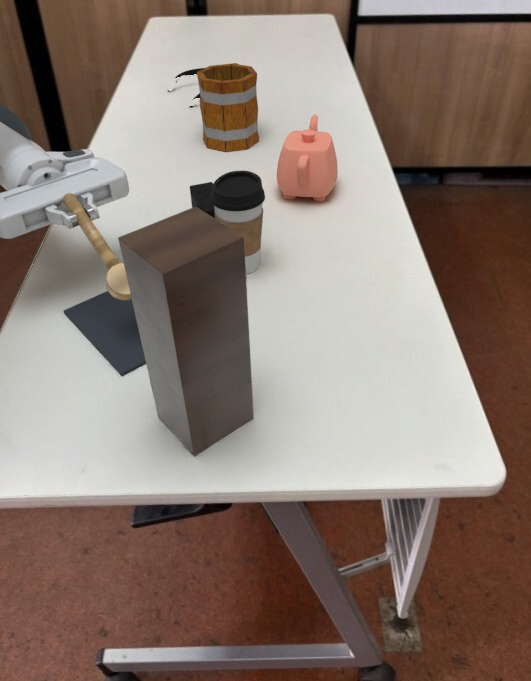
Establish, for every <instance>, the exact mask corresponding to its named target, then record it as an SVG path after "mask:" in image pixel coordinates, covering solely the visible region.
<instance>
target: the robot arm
mask: <svg viewBox="0 0 531 681" xmlns="http://www.w3.org/2000/svg"><path fill="white" fill-rule="evenodd" d="M129 184H130V183H129V180H128V176H127V173H126V171H125V170H123V169H122V168H121V167H120V166H118V165H116V164H115V163H112V162H111V161H110V160H107V159H105V158H102V157H95V155H94V151H92V150H91V149H87V148H83V149H77V150H75V149H74V150H67V151H46V150H44V149H43V148H42V147H41V146H40V145H39V144H37V143H36V142H35V141H34V140H32V137H31V133H30V131H29V127H28V125H27V124H26V123H25V122H24V121H23V120H22V118H20V117H19V115H17V114H15V113H14V111H12V110H11V109H9V108H8V107H7V106H5V104H2V103H1V102H0V186H1V187H2V188H3V189H5V190H6V191H2V192H0V238H1V239H7V240H11V239H15V238H17V237H20V236H23V235H25V234H28V233H31V232H33V231H36V230H40V229H42V228H44V227H47V226H50V225H56V226H65V227H66V228H67V229H68V230H72V229H74V228H77V227H80V226H79V222H78V218H77V216H76V214H74V213H73V212H72V211H69V209H68V208H67V206H66V205H65V203H64V202H63V196H64V195H65V194H66V193H72V194H74V195H75V196H76V198H77V199H78V201H79V202H80V204H81V205H82V207H83V208H84V210H85V211H86V213H87V214H88V216H89V217H90V219H91V220H92V221H95V220H98V219H100V212H99V209H98V208H99V207H101V206H104V205H107V204H109V203H112V202H115V201H118V200H120V199H124V198H126V197H128V195H129V194H130V186H129Z"/></svg>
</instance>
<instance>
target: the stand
mask: <svg viewBox="0 0 531 681" xmlns="http://www.w3.org/2000/svg"><path fill="white" fill-rule="evenodd" d="M117 240H118V244H119V248H120V249H119V250H120V253H121V257H122V263H124V267H125V271H126V276H127V280H128V285H129V289H130V294H131V298H132V303H133V307H134V311H135V316H136V320H137V325H138V329H139V334H140V338H141V343H142V347H143V352H144V356H145V360H146V364H145V365H146V369H147V373H148V378H149V382H150V387H151V391H152V395H153V400H154V404H155V409H156V413H157V417H158V418H159V420H160V421H161V422H162V423H163V425H165V427H167V428H168V430H169V431H170V433H172V434H173V435H174V436H175V437H176V438H177V439H178V440H179V441H180V443H181V444H182V445H183V446H184V447H185V449H187V450H188V452H190V454H191V455H193V457H196V456H197V455H199V454H200V453H202V452H203V451H205V450H206V449H208V448H209V447H211V446H213V445H214V444H216V443H217V442H219V441H220V440H222V439H224V438H225V437H226V436H228V435H230V434H232V433H233V432H234V431H236V430H237V429H239V428H241V427H242V426H244V425H245V424H247V423H249V422H250V421H251V420H253V419H255V418H254V416H255V415H254V399H253V397H254V396H253V379H252V378H253V377H252V361H251V343H250V341H251V340H250V323H249V307H248V306H249V304H248V289H247V287H248V286H247V274H246V267H245V248H244V237H243V236H241V235H239V234H238V233H236V232H235V231H233V230H232V229H230V228H229V227H227V226H225V225H224V224H222V223H221V222H219V221H218V220H216V219H215V218H213V217H211V216H210V215H208V214H207V213H205V212H204V211H202V210H200V209H199V208H197V207H193V208H192V207H191V208H187V209H185V210H183V211H181V212H179V213H175V214H173V215H171V216H168V217H166V218H163V219H161V220H159V221H157V222H153V223H151V224H148V225H146V226H143V227H141V228H138V229H136V230H134V231H130V232H129V233H126V234H124V235H121V236H118V237H117Z"/></svg>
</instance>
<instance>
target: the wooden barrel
mask: <svg viewBox="0 0 531 681" xmlns="http://www.w3.org/2000/svg"><path fill="white" fill-rule="evenodd" d="M203 68H204V69H202V70H200V71H198V72H197V74H196V76H197V81H198V89H199V93H200V100H199V110H200V114H201V120H202V141H203V143H204V145H205V147H206V149H211V150H214V151H218V152H224V153H230V152H237V151H245V150H250V148H252V147H253V146H255V145H256V144H258V143H259V142H260V136H259V129H258V128H259V127H258V124H259V123H258V118H259V104H258V103H259V102H258V96H257V95H258V94H257V82H258V81H257V80H258V73H257V71H256V70H255V69H254V68H253V66H251V65H245V64H239V63H236V62H234V63H224V64H214V65H209V66H207V67H203Z"/></svg>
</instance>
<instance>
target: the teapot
mask: <svg viewBox="0 0 531 681" xmlns="http://www.w3.org/2000/svg"><path fill="white" fill-rule="evenodd" d="M318 119H319V117H318V115H317V114H313V115H312V116H311V117H310V120H309V121H310V122H309V127H308V129H304V130H292V131H291V132H289V134H288V135H287V136H286V137H285V139H284V141H283V145H282V147H281V150H280V153H279V156H278V160H277V167H276V184H277V187H278V189H279V191H280V193H281V194H282V195H284V196H283V197H284V199H286V200H294V199H296V198H297V197H300V198H303V197H304V198H313V200H314V201H315V202H324V201H326V199H327V198H326V197H327V196H328V195H329V194H330V193H331V191H332V189H333V187H334V186H335V184H336V182H337V179H338V172H339V171H338V170H339V169H338V158H337V154H336V149H335V145H334V141H333V137H332V134H330V133H329V132H327V131H319V129H318V122H319V121H318Z"/></svg>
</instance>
